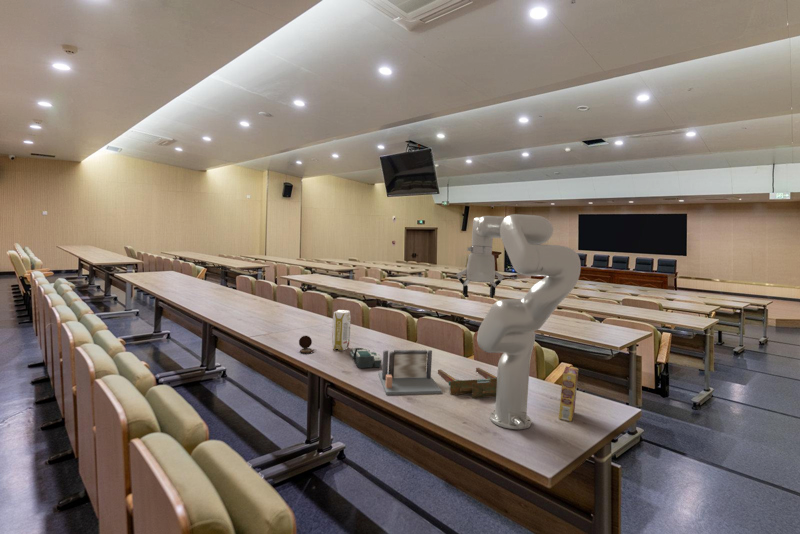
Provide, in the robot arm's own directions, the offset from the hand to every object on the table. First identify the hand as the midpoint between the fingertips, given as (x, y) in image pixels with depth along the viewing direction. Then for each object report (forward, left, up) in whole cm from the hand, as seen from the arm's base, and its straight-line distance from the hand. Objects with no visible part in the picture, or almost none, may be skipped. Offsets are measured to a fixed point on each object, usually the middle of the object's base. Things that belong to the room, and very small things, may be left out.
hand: (478, 296), depth 150 cm
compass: (+55, +63, -36) cm, 91 cm away
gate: (+12, +23, -34) cm, 43 cm away
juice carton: (+60, +48, -36) cm, 84 cm away
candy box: (-24, -23, -36) cm, 49 cm away
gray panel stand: (+9, +23, -36) cm, 43 cm away
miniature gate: (+6, -2, -36) cm, 37 cm away
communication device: (+40, +38, -36) cm, 66 cm away
